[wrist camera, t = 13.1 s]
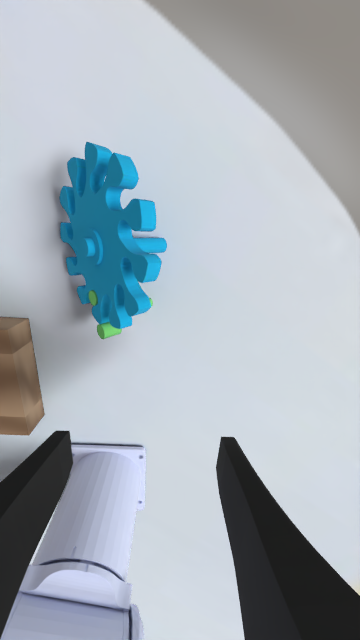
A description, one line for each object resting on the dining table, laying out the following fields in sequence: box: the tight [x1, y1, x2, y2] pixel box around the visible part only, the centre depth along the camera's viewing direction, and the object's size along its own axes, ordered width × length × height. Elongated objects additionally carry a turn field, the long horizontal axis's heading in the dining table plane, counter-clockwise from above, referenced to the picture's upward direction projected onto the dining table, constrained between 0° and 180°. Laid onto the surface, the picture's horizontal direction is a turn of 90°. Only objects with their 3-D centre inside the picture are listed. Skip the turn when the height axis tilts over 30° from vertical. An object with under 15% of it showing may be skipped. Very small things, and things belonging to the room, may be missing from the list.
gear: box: [60, 142, 167, 339], centre depth 15 cm, size 11×6×10 cm
